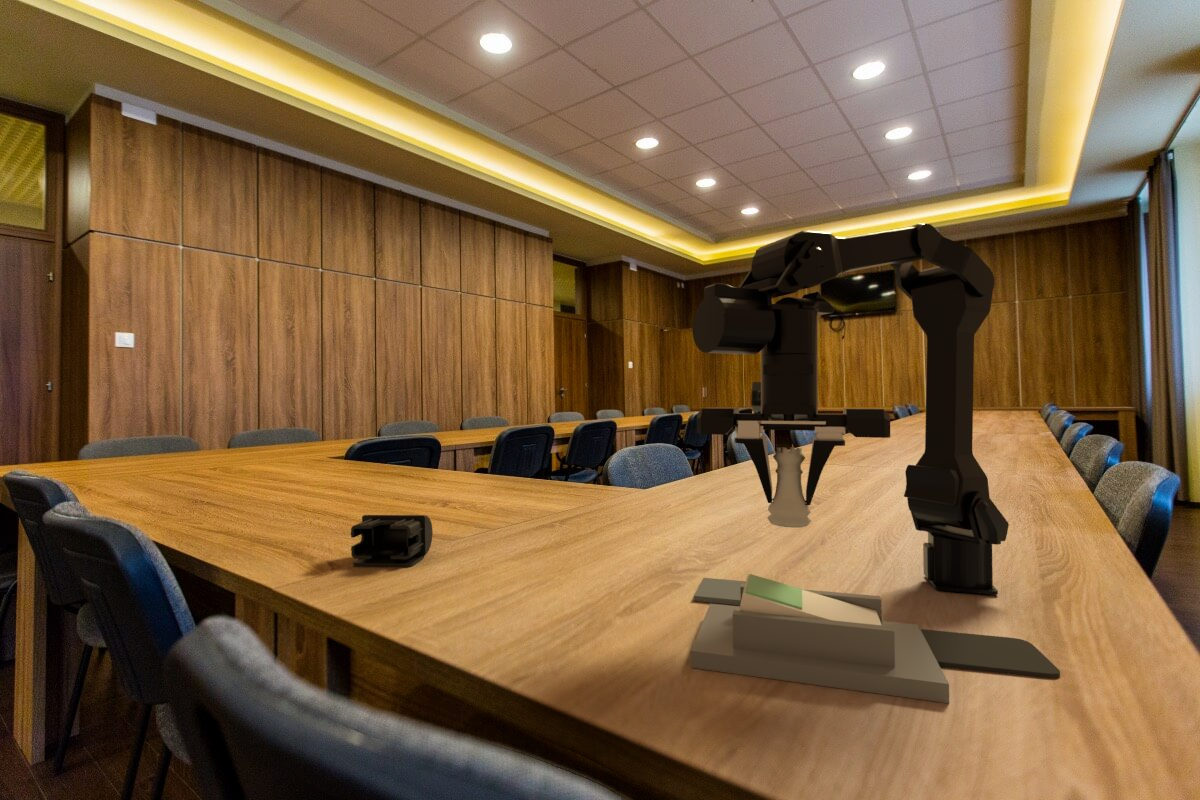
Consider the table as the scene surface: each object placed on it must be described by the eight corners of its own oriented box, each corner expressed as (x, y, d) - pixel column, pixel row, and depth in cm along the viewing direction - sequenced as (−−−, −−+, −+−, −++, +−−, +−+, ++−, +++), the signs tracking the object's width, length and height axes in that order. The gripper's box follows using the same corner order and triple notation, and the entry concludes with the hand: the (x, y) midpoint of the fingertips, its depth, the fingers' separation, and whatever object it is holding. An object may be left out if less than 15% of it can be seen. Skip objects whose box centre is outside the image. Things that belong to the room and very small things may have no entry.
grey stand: (917, 640, 55) (917, 593, 55) (949, 703, 44) (948, 645, 44) (710, 617, 62) (709, 576, 62) (691, 667, 51) (690, 616, 51)
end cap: (433, 554, 89) (432, 511, 89) (414, 568, 82) (413, 521, 82) (372, 553, 90) (372, 511, 90) (348, 567, 83) (347, 521, 83)
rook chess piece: (817, 528, 58) (817, 450, 58) (773, 528, 58) (773, 449, 58) (803, 519, 63) (803, 446, 63) (762, 519, 63) (762, 446, 63)
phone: (1066, 676, 47) (868, 654, 52) (1066, 686, 47) (868, 663, 52) (1027, 638, 54) (856, 622, 59) (1027, 647, 54) (856, 630, 59)
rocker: (872, 626, 54) (876, 608, 54) (881, 653, 48) (886, 634, 48) (744, 588, 58) (748, 572, 58) (739, 609, 52) (743, 591, 52)
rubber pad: (759, 587, 71) (759, 582, 71) (755, 607, 65) (755, 601, 65) (703, 582, 74) (703, 577, 74) (694, 600, 67) (694, 595, 67)
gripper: (877, 359, 65) (877, 496, 65) (711, 363, 71) (711, 488, 71) (891, 351, 54) (891, 515, 54) (695, 356, 61) (695, 503, 61)
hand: (788, 503), depth 60 cm, fingers closed on rook chess piece, 3 cm apart
